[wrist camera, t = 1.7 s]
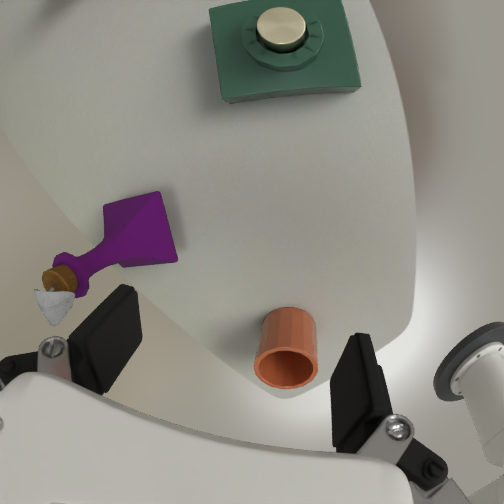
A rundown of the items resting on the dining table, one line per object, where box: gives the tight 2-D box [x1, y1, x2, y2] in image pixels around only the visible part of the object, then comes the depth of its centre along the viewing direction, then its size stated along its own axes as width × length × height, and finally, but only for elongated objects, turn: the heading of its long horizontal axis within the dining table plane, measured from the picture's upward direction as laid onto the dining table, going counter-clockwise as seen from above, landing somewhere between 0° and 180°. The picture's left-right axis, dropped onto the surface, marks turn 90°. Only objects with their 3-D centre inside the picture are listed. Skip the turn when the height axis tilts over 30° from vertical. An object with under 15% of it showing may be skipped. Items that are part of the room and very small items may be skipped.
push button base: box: [209, 0, 361, 104], centre depth 19 cm, size 12×10×5 cm
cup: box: [254, 307, 318, 389], centre depth 30 cm, size 7×7×7 cm
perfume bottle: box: [34, 191, 178, 326], centre depth 22 cm, size 8×8×18 cm
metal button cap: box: [257, 7, 306, 52], centre depth 16 cm, size 4×4×2 cm
